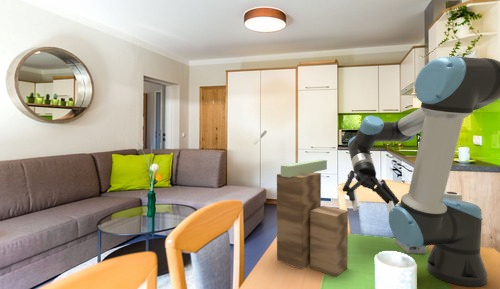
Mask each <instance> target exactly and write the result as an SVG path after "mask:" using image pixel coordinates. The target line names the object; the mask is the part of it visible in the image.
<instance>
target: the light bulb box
mask: <svg viewBox="0 0 500 289" xmlns="http://www.w3.org/2000/svg"><path fill="white" fill-rule="evenodd" d="M394 243H395V244H396V245H397V246H399V247H400V248H401V249H403V251H404V252H406V253H407V254H416V255H417V254H419V255H420V254H425V255H426V254H427V246H422V247H408V246H405V245H403V244H401V243H400V242H399V241H398V240H397V239H396V238H395V237H394Z"/></svg>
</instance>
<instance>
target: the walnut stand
mask: <svg viewBox="0 0 500 289" xmlns="http://www.w3.org/2000/svg"><path fill="white" fill-rule="evenodd" d="M321 185H322V173H321V172H312V173H307V174H303V175H298V176H293V177H283V176H281V173H277V174H276V260H277V261H279V262H281V263H284V264H286V265H289V266H292V267H294V268H297V269H300V270H302V269H305V268H306V267H307V266H309V265H310V267H309V268H310V269H313V270H315V271H318V272H321V273H324V274H327V275H329V276H330V277H334V278H337V277H338V276H339V275H341V274H342V273H343V272H344V271H345V270H347V269H348V251H349V250H348V248H349V247H348V243H349V242H348V238H349V237H348V236H349V210H346V209H341V208H336V207H330V206H325V205H321V202H322V200H321V198H322V196H321V195H322V193H321V192H322V190H321V189H322V187H321Z"/></svg>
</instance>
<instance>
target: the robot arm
mask: <svg viewBox="0 0 500 289" xmlns="http://www.w3.org/2000/svg"><path fill="white" fill-rule="evenodd" d="M414 93H416V94H415V96H416V98H417V100H418V101H419V102H421V105H420V107H419V108H418V109H416V110H414V111H412V112H411V113H408V114H407V115H405V116H404V117H402V118H400V119H398V120H396V121H388V122H387V121H384V120H383V119H381V118H380V117H379V116H374V115H367V116H365V117H364V118H363V120H362V121H361V122H360V125H359V128H358V130H357V133H356V135H355V136H352V138H350V139H349V140H348V143H347V145H348V147H347V148H348V152H349V157H350V160H351V165H352V169H353V170H350V172H349V173H348V174H347V179H346V182H345V183H344V185H343V188H342V190H341V191H342V192H345V193H346V196H348V198H349V201H350V202H351V205H352V210H353V212H357V211H358V210H359V208H360V207H361V206H360V201H359V197H358V196H359V195H358V191H357V189H358V188H359V187H361V186H362V187H363V188H365V189H366V188H367V189H369V190H371V191H372V192H374V193H375V194H377V195H378V196H379V197H380V199H382V200H383V201H384V202H385V203H386V208H387V212H388V224H389V228H390V230H391V232H392V235H393V237H394V239H395V238H396V239H397V240H398V241H399V242H400V243H401V244H403V245H405V246H408V247H422V246H426V247H427V246H433V248H432V250H431V252H430V254H429V255H428V259H427V262H426V263H427V264H426V269H427V271H428V272H429V273H430V274H431V275H433V276H434V277H436V278H438V279H439V280H442V281H445V282H447V283H450V284H453V285H458V286H461V287H463V286H464V287H469V288H470V287H471V288H472V287H475V288H476V287H477V288H478V287H482V286H485V285H486V284H487V283H488V274H487V270H486V266H485V265H484V262H483V259H482V256H481V255H482V254H481V245H482V243H481V242H482V222H483V216H482V209H481V207H480V206H479V205H477V204H475V203H472V202H469V201H466V200H465V201H464V200H462V201H460V200H455V199H449V198H443V197H444V193H445V192H446V189H447V184H448V182H449V177H450V174H451V170H452V165H453V162H454V157H455V154H456V151H457V150H456V149H457V146H458V142H459V138H460V135H461V131H462V127H463V122H464V120H465V118H468V117H469V116H470V115H472V114H474V111H478V110H480V109H482V108H484V107H487V106H488V105H490V104H494V103H495V102H496V101H499V99H500V61H499V60H497V59H493V58H489V57H488V58H486V57H482V58H479V57H465V56H455V55H454V56H442V57H441V56H440V57H436V58H434V59H431V60H430V61H428V62H427V64H426V65H423V67H422V68H421V69H420V71H419V73H418V75H417V76H416V79H415V82H414ZM419 133H421V134H420V139H419V144H418V148H417V153H416V156H415V162H414V166H413V169H412V170H413V171H412V176H411V181H410V183H409V184H410V185H409V188H408V192H407V193H405V194H403V195H401V200H400V199H399V198H398V197H397V196H396V194H394V192H393V191H392V190H391V188H390V187H389V186H388V184H387V183H386V181H385V179H381V180H378V178H377V172H376V169H375V164H374V161H373V158H372V155H371V151H372V148H373V147H374V145H375V143H377V142H378V143H379V142H402V143H403V142H408V141H411V140H412V141H413V139H414V138H415V137H416V135H417V134H419ZM353 179H355V180H356V181H357V182H356V183H354V184H353V185H352V186H350V185H351V184H352V182H353ZM398 203H400V204H399V206H397V204H398Z"/></svg>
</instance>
